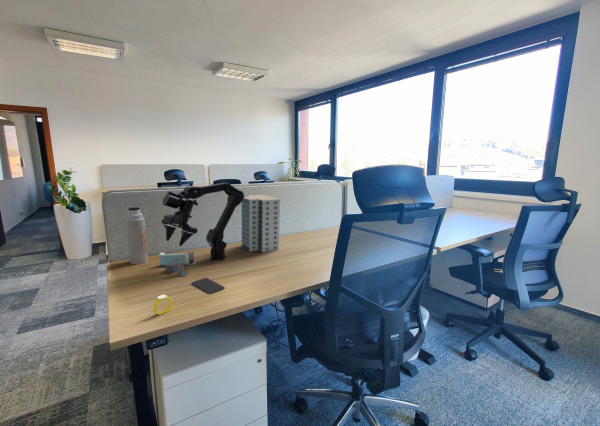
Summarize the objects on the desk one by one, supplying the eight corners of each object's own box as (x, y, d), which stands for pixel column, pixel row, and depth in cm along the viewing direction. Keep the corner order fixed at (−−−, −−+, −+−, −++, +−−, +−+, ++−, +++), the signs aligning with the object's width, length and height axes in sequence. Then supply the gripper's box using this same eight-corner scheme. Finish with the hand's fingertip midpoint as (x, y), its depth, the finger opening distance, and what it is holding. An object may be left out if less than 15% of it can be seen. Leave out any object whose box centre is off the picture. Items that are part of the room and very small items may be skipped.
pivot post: (197, 262, 145) (197, 251, 144) (193, 265, 141) (193, 254, 140) (189, 262, 146) (188, 250, 144) (185, 265, 141) (184, 253, 140)
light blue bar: (185, 264, 142) (185, 253, 141) (160, 265, 140) (159, 254, 139) (186, 262, 144) (186, 251, 143) (161, 264, 142) (160, 252, 141)
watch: (157, 318, 94) (155, 302, 92) (153, 315, 95) (150, 299, 94) (174, 309, 99) (172, 293, 97) (169, 307, 100) (167, 291, 99)
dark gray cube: (178, 269, 136) (178, 262, 135) (174, 272, 132) (173, 265, 131) (170, 269, 136) (170, 262, 136) (166, 272, 132) (165, 265, 132)
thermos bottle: (151, 259, 149) (147, 206, 144) (140, 264, 141) (135, 209, 137) (138, 258, 151) (133, 206, 146) (126, 263, 143) (120, 208, 138)
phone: (209, 293, 110) (190, 282, 120) (209, 295, 110) (190, 284, 120) (225, 287, 115) (206, 277, 125) (226, 289, 116) (206, 279, 125)
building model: (238, 244, 175) (237, 196, 169) (261, 240, 184) (261, 194, 178) (254, 254, 159) (254, 201, 153) (278, 249, 168) (279, 199, 163)
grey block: (188, 272, 132) (188, 260, 131) (184, 276, 127) (183, 263, 126) (182, 272, 132) (181, 260, 131) (177, 276, 128) (176, 263, 127)
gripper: (157, 203, 133) (146, 235, 131) (184, 211, 124) (172, 246, 123) (176, 209, 143) (166, 239, 141) (202, 217, 134) (192, 249, 133)
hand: (173, 243), depth 134 cm, fingers open, 9 cm apart
